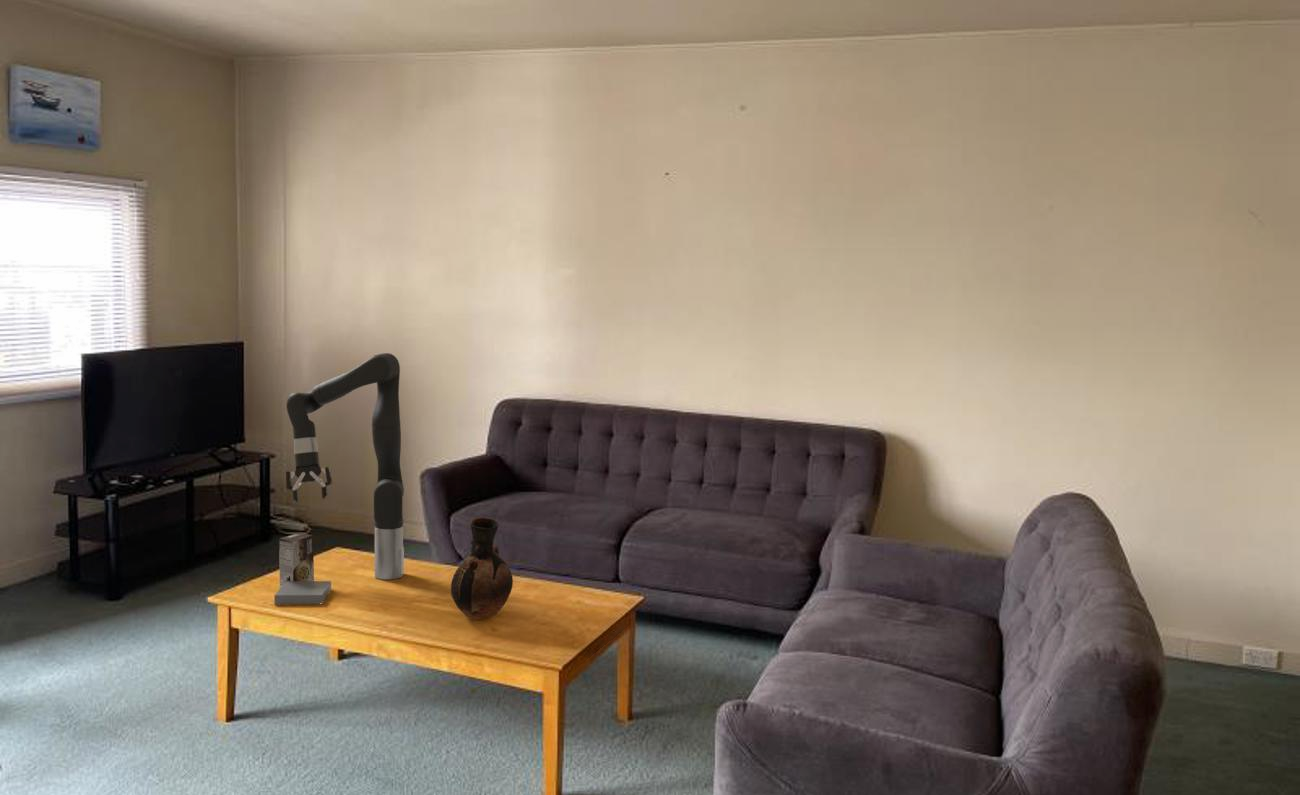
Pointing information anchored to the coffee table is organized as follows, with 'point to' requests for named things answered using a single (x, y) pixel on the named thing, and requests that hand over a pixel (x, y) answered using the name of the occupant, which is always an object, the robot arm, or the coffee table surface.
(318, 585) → the plinth
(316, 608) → the coffee table surface
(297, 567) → the coffee box
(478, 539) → the ceramic vessel
